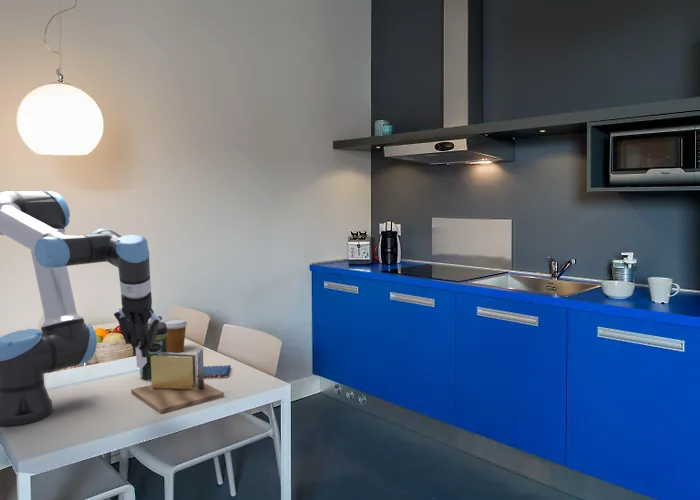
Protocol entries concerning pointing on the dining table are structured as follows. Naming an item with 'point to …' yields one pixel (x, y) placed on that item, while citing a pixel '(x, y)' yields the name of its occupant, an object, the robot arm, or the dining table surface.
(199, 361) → the steel leaf and pin
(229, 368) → the woven mat
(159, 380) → the panel
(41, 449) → the dining table surface
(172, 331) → the disposable coffee cup
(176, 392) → the walnut board
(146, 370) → the coffee jar
